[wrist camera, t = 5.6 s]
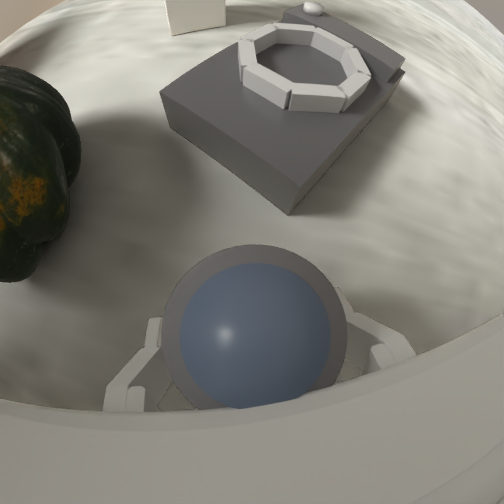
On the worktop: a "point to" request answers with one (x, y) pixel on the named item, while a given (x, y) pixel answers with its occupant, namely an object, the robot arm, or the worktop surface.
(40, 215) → the squash
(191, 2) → the milk
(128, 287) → the worktop surface
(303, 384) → the lens
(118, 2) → the worktop surface
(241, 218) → the worktop surface
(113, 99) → the worktop surface
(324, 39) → the stand base
